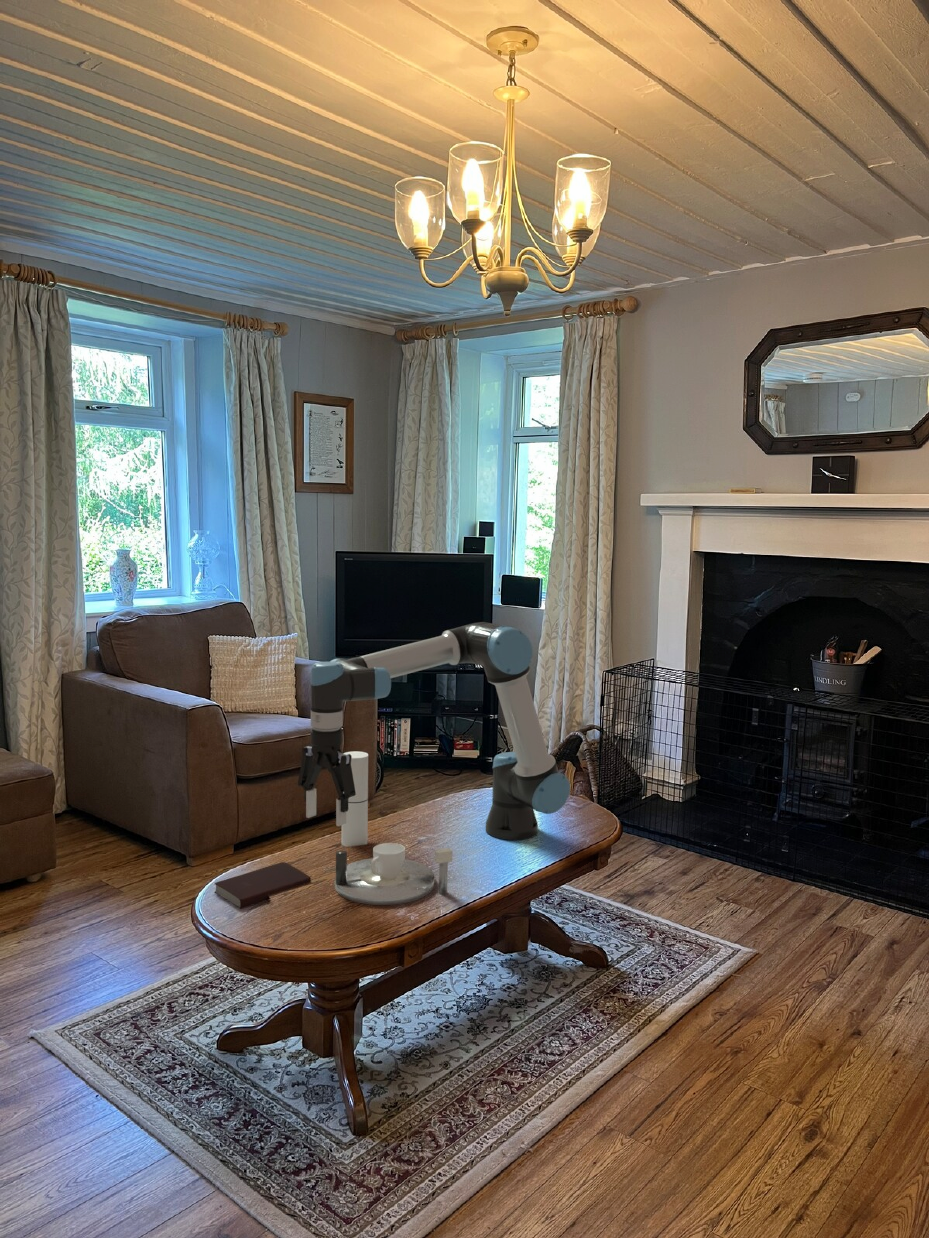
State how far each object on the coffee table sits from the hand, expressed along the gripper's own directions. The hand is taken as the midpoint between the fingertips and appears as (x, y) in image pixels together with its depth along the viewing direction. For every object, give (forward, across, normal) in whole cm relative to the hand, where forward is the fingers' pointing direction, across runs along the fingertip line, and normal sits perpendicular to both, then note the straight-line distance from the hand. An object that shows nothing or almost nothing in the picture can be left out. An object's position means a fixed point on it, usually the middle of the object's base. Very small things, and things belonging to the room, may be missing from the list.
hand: (326, 820), depth 213 cm
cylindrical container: (+18, -16, +28) cm, 37 cm away
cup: (+14, +11, +9) cm, 20 cm away
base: (+18, +10, +10) cm, 23 cm away
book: (+18, -13, -8) cm, 24 cm away
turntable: (+16, +10, +10) cm, 22 cm away
